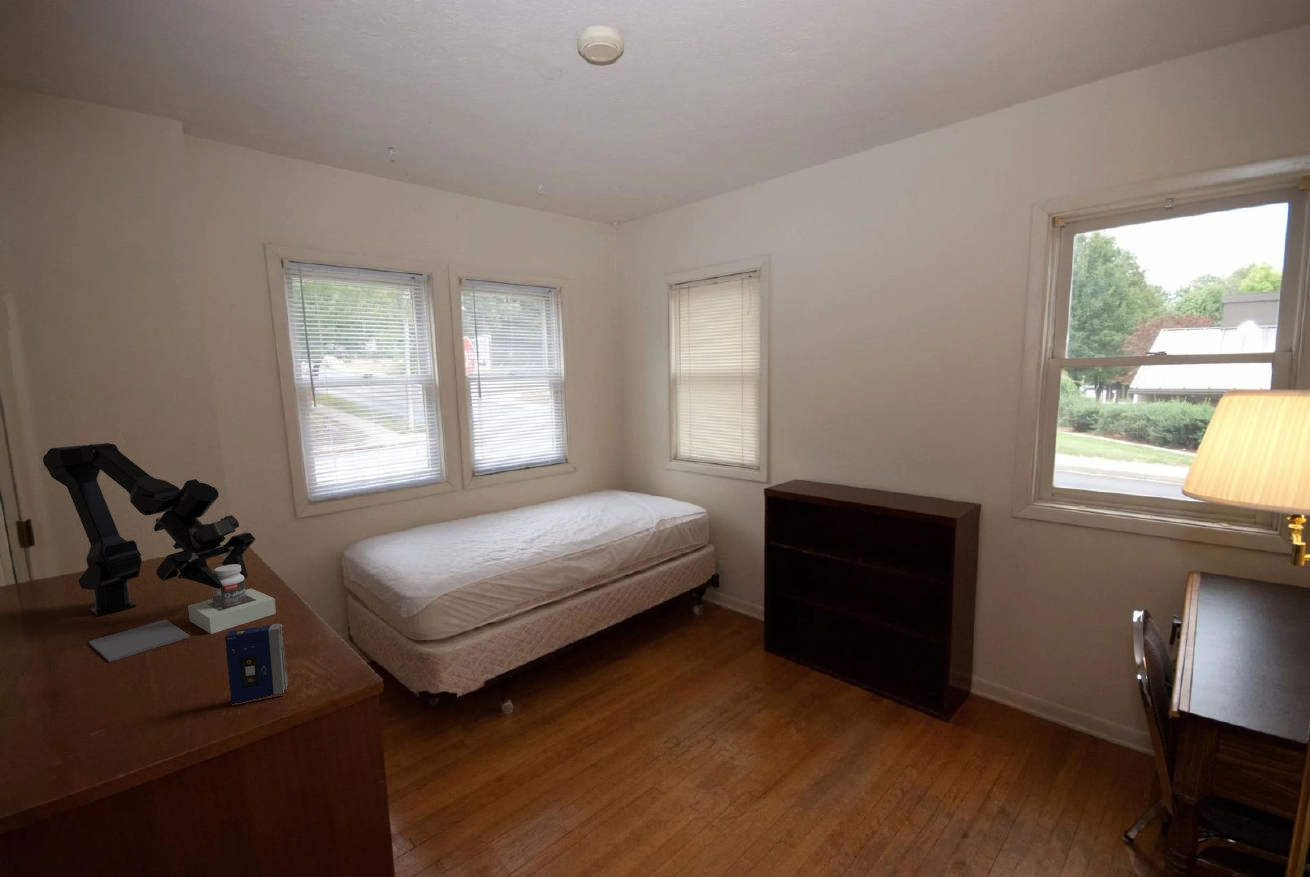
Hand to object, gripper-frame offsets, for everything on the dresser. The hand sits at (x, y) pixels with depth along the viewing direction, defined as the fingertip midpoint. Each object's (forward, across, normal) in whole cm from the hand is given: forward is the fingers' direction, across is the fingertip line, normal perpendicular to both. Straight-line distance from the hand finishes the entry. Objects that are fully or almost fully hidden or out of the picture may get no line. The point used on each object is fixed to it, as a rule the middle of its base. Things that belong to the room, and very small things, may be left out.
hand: (233, 582), depth 121 cm
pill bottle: (+4, 0, +6) cm, 7 cm away
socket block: (+5, 0, +7) cm, 8 cm away
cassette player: (+29, -26, -18) cm, 43 cm away
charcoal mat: (-1, -12, +13) cm, 18 cm away
